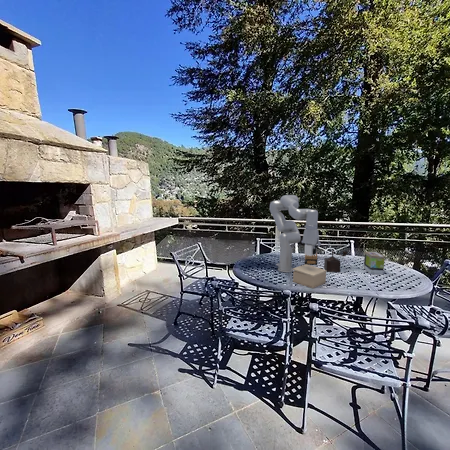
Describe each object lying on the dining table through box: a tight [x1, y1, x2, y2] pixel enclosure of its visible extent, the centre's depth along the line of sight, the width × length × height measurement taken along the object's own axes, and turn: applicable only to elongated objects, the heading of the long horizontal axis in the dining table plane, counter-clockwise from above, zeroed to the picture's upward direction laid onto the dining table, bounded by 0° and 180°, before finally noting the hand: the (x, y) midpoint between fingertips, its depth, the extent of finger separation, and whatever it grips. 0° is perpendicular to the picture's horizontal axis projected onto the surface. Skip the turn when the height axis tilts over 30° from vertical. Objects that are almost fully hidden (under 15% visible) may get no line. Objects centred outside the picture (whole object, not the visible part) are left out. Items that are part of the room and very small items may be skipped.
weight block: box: [304, 244, 318, 256], centre depth 175 cm, size 5×7×7 cm
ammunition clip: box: [304, 251, 318, 266], centre depth 220 cm, size 11×2×12 cm, turn 83°
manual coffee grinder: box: [323, 250, 349, 273], centre depth 203 cm, size 16×11×18 cm
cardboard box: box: [292, 270, 327, 289], centre depth 177 cm, size 16×16×8 cm
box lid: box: [292, 263, 327, 277], centre depth 177 cm, size 16×17×1 cm
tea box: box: [363, 251, 386, 276], centre depth 200 cm, size 15×10×15 cm, turn 168°
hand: (310, 253), depth 175 cm, fingers closed on weight block, 5 cm apart
